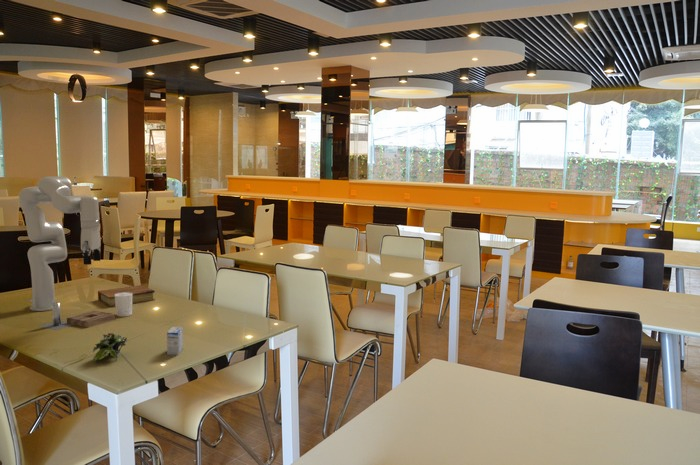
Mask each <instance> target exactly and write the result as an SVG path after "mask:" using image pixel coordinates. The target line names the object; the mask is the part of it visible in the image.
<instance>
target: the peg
mask: <svg viewBox="0 0 700 465" xmlns="http://www.w3.org/2000/svg"><path fill="white" fill-rule="evenodd" d="M52 308H53V309H52V322H53V326H60V325H61V321H62V316H61V302H59V301H57V302H56V301H55V302H54V303H52Z"/></svg>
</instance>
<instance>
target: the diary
mask: <svg viewBox="0 0 700 465" xmlns="http://www.w3.org/2000/svg"><path fill="white" fill-rule="evenodd" d="M125 292H128V293H132V305H133V304H139V303H145V302H146V303H147V302H152V301H153V300H154V301H156V299H155V298H154V293H155V290H153V289H151V288H149V287H147V286H145V285H143V284H141V285H140V284H139V285H133V286H125V287H117V288H109V289H101V290H98V291H97V299H98V301H99V302H100V303H102V304H103V305H105V306H106V307H109V308H114V307H116V306H115V294H117V293H125Z"/></svg>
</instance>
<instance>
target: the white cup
mask: <svg viewBox="0 0 700 465" xmlns="http://www.w3.org/2000/svg"><path fill="white" fill-rule="evenodd" d="M114 307H115V311H116V312H115V313H116V317H121V318H122V317H130V316H132V315H133V304H132V293H128V292H125V293H117V294H115V306H114Z"/></svg>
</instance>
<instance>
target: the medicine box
mask: <svg viewBox="0 0 700 465" xmlns="http://www.w3.org/2000/svg"><path fill="white" fill-rule="evenodd" d="M166 349H167V350H166V352H167V355H168V356H169V355H170V356H171V355H180V353H181V352H182V350H183V349H184V327H183V326H172V327H170V329H168V331H167V332H166Z"/></svg>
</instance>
